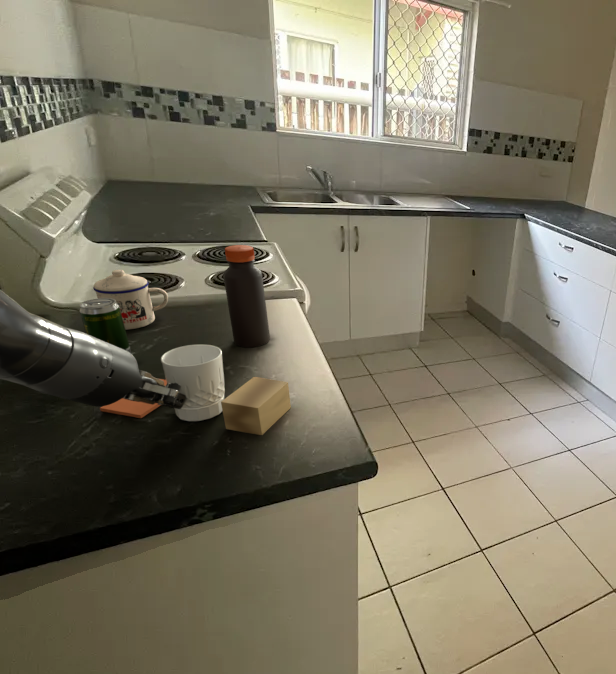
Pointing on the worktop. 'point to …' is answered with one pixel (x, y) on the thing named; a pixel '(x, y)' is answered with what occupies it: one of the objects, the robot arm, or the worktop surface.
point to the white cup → (196, 379)
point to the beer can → (104, 321)
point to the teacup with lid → (130, 297)
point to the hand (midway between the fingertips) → (179, 401)
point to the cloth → (130, 407)
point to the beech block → (256, 405)
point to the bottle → (245, 297)
